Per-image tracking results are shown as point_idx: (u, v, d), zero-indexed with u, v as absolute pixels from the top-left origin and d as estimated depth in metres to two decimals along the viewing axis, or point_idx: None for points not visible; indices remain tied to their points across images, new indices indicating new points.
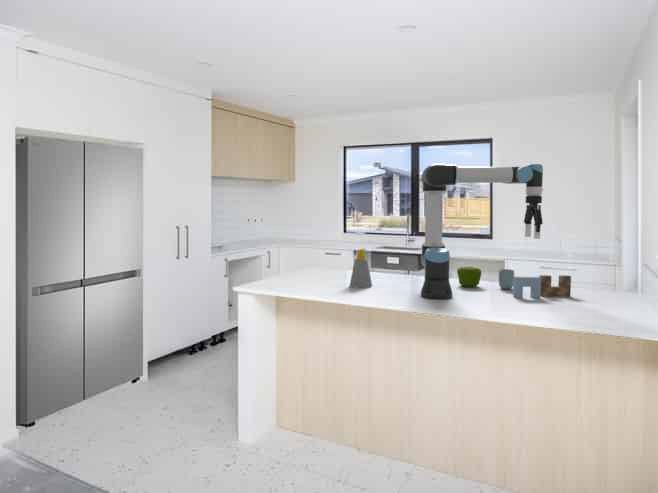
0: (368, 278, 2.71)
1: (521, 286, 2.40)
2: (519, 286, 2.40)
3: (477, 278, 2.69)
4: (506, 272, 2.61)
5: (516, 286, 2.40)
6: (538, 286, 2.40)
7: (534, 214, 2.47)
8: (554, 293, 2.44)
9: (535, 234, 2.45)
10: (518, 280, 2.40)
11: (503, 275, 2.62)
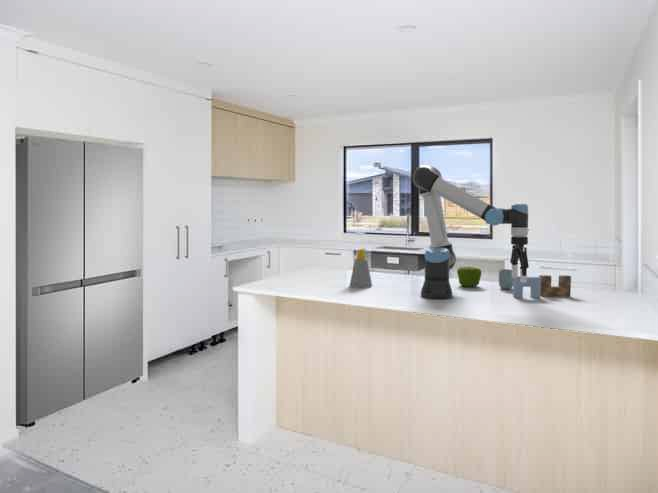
0: (368, 278, 2.71)
1: (521, 286, 2.40)
2: (519, 286, 2.40)
3: (477, 278, 2.69)
4: (506, 272, 2.62)
5: (516, 286, 2.40)
6: (538, 286, 2.40)
7: (520, 256, 2.36)
8: (554, 293, 2.44)
9: (522, 278, 2.34)
10: (518, 280, 2.40)
11: (503, 275, 2.62)
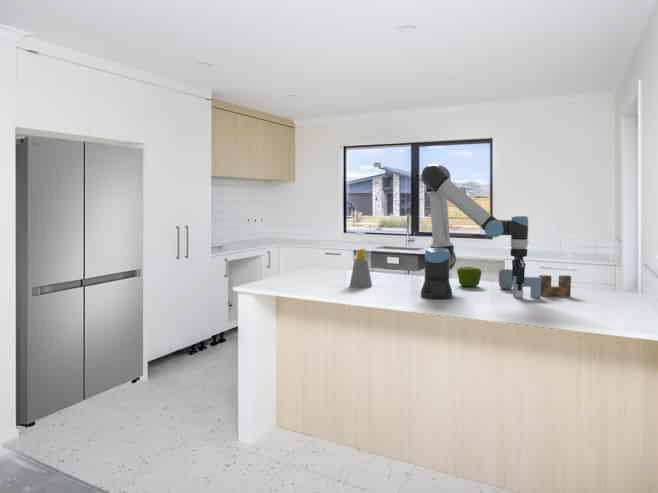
0: (368, 278, 2.71)
1: None
2: None
3: (477, 278, 2.69)
4: (506, 272, 2.62)
5: None
6: (538, 286, 2.40)
7: (518, 270, 2.38)
8: (554, 293, 2.44)
9: (517, 293, 2.40)
10: None
11: (503, 275, 2.62)
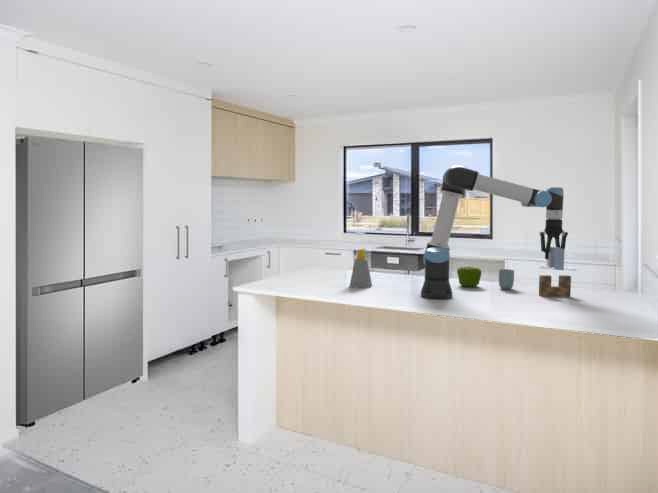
0: (368, 278, 2.71)
1: None
2: None
3: (477, 278, 2.69)
4: (506, 272, 2.62)
5: None
6: (556, 257, 2.39)
7: (547, 240, 2.49)
8: (554, 293, 2.44)
9: (547, 262, 2.50)
10: None
11: (503, 275, 2.62)
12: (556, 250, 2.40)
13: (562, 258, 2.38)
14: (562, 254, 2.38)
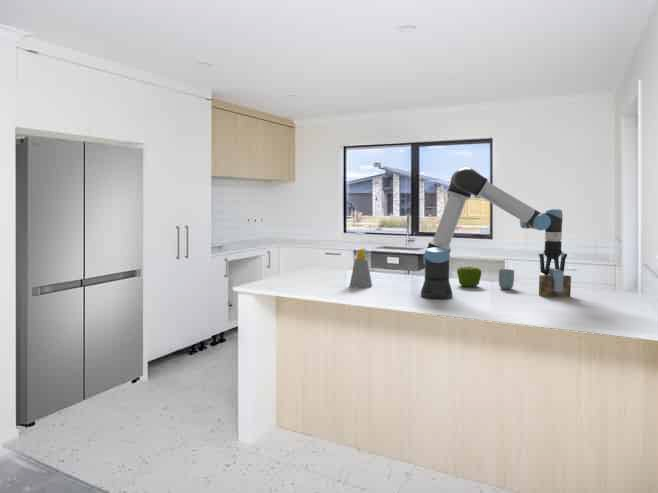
0: (368, 278, 2.71)
1: None
2: None
3: (477, 278, 2.69)
4: (506, 272, 2.61)
5: None
6: (556, 279, 2.40)
7: (546, 261, 2.50)
8: (554, 293, 2.44)
9: None
10: None
11: (503, 275, 2.62)
12: (555, 272, 2.41)
13: (561, 280, 2.39)
14: (561, 276, 2.39)
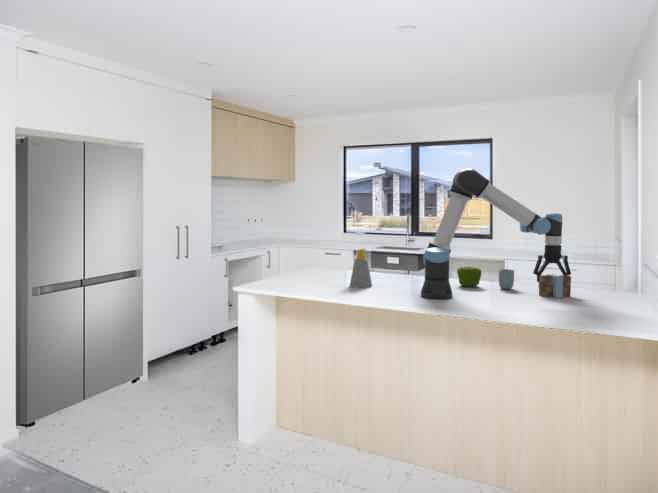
0: (368, 278, 2.71)
1: None
2: None
3: (477, 278, 2.69)
4: (506, 272, 2.62)
5: None
6: (555, 286, 2.40)
7: (543, 264, 2.50)
8: None
9: None
10: None
11: (503, 275, 2.62)
12: (555, 278, 2.41)
13: (561, 287, 2.39)
14: (561, 283, 2.39)
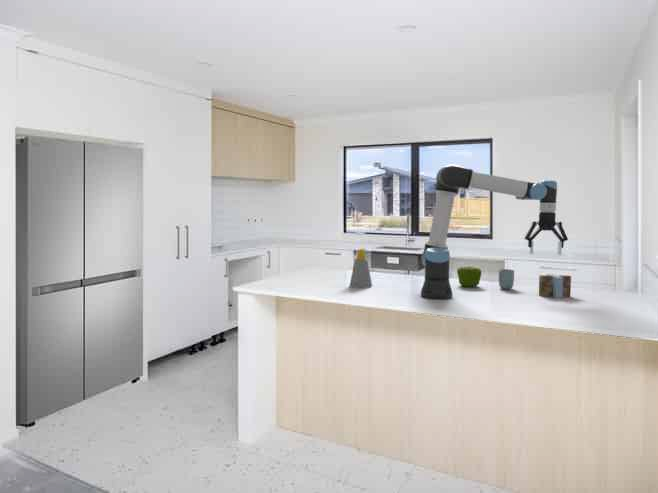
0: (368, 278, 2.71)
1: None
2: None
3: (477, 278, 2.69)
4: (506, 272, 2.61)
5: None
6: (555, 286, 2.40)
7: (536, 230, 2.51)
8: None
9: (530, 250, 2.52)
10: None
11: (503, 275, 2.62)
12: (555, 278, 2.41)
13: (561, 287, 2.39)
14: (561, 283, 2.39)
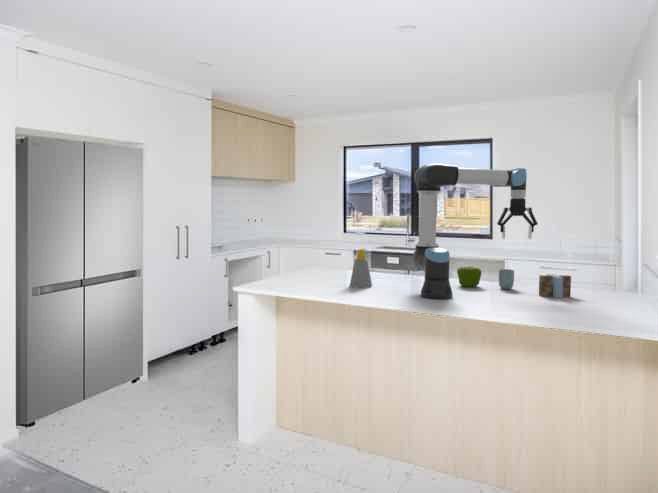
0: (368, 278, 2.71)
1: None
2: None
3: (477, 278, 2.69)
4: (506, 272, 2.62)
5: None
6: (555, 286, 2.40)
7: (507, 216, 2.64)
8: None
9: (502, 234, 2.65)
10: None
11: (503, 275, 2.62)
12: (555, 278, 2.41)
13: (561, 287, 2.39)
14: (561, 283, 2.39)
